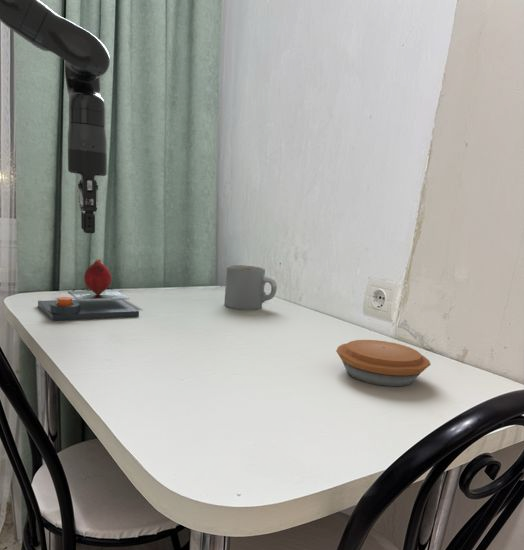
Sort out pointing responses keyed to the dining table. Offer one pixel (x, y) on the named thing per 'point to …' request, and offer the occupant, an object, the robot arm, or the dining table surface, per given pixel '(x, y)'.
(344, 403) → the dining table surface
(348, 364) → the pie
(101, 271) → the onion
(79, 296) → the weighing plate
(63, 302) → the tare button
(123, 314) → the scale
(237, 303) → the coffee mug
